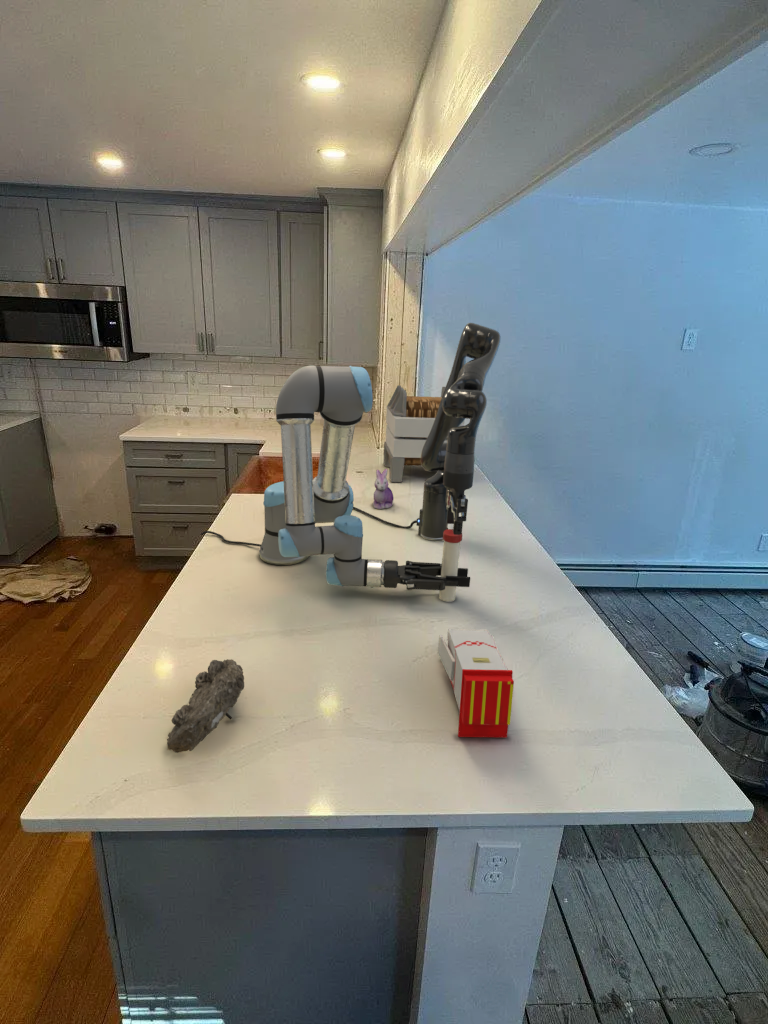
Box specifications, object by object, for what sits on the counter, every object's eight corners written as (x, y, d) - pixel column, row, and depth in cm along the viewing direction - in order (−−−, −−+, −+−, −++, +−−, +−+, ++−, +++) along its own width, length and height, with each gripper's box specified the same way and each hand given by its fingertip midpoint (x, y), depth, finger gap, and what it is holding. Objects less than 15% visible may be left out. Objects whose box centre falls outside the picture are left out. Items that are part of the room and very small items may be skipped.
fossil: (192, 660, 117) (244, 628, 112) (224, 691, 120) (276, 661, 115) (142, 746, 98) (202, 712, 93) (182, 779, 101) (242, 748, 96)
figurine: (377, 511, 221) (379, 474, 216) (366, 503, 229) (367, 467, 224) (399, 508, 225) (401, 471, 220) (387, 500, 233) (388, 465, 228)
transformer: (382, 463, 289) (386, 382, 275) (445, 464, 293) (451, 384, 279) (390, 482, 257) (394, 392, 243) (460, 483, 261) (468, 394, 247)
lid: (440, 540, 150) (440, 533, 149) (446, 534, 154) (446, 527, 153) (458, 544, 148) (459, 537, 147) (464, 537, 152) (464, 531, 152)
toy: (488, 613, 130) (523, 677, 101) (484, 667, 133) (517, 744, 104) (435, 612, 130) (455, 676, 101) (432, 666, 133) (451, 743, 103)
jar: (436, 599, 156) (442, 535, 149) (441, 592, 160) (447, 529, 153) (452, 603, 154) (458, 538, 148) (457, 596, 158) (463, 532, 152)
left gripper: (383, 572, 164) (463, 575, 164) (381, 601, 148) (471, 605, 148) (384, 548, 162) (465, 552, 162) (383, 575, 145) (474, 579, 145)
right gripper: (480, 476, 138) (474, 538, 144) (466, 461, 152) (461, 519, 157) (450, 476, 137) (445, 539, 143) (439, 461, 151) (434, 519, 156)
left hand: (468, 577), depth 155 cm, fingers closed on jar, 4 cm apart
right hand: (453, 528), depth 150 cm, fingers open, 7 cm apart
